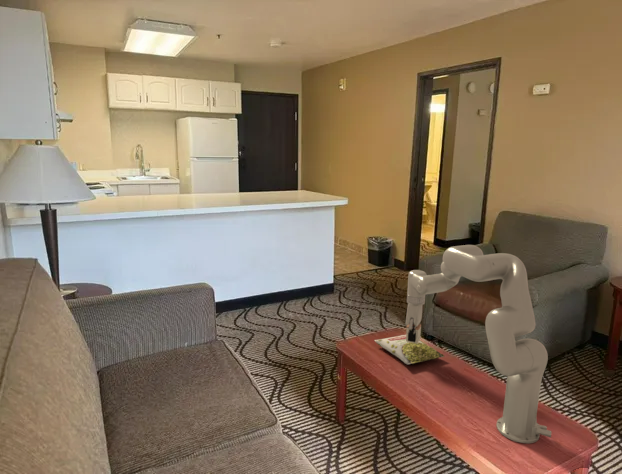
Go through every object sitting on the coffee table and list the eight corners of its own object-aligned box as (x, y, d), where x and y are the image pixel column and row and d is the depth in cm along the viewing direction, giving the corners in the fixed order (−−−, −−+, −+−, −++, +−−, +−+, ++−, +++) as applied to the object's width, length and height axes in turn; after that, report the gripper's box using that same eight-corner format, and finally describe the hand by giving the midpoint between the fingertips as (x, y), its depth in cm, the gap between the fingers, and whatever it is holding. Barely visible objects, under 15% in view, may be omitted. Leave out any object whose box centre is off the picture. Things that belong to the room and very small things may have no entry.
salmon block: (420, 339, 185) (421, 324, 184) (417, 344, 180) (418, 328, 179) (408, 336, 187) (409, 322, 186) (405, 341, 183) (406, 326, 181)
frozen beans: (408, 358, 173) (373, 334, 195) (406, 371, 174) (372, 346, 196) (446, 350, 182) (408, 328, 204) (444, 362, 183) (407, 339, 205)
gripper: (412, 292, 189) (409, 330, 193) (401, 303, 174) (399, 344, 178) (429, 294, 186) (426, 333, 189) (419, 306, 171) (417, 348, 175)
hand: (413, 338), depth 184 cm, fingers closed on salmon block, 5 cm apart
